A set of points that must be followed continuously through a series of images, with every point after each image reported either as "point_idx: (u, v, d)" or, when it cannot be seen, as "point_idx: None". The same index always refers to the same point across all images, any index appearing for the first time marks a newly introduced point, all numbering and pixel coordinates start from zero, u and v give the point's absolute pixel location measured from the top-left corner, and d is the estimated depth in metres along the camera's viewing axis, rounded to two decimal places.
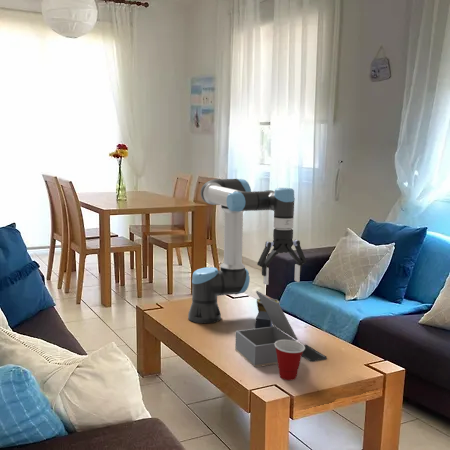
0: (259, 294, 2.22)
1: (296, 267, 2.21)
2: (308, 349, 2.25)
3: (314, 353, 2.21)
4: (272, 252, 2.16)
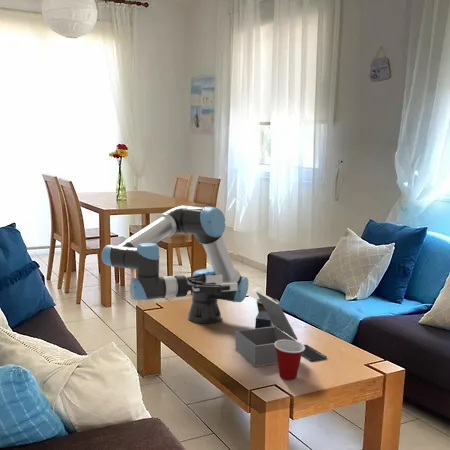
0: (259, 294, 2.22)
1: None
2: (308, 349, 2.25)
3: (314, 353, 2.21)
4: None
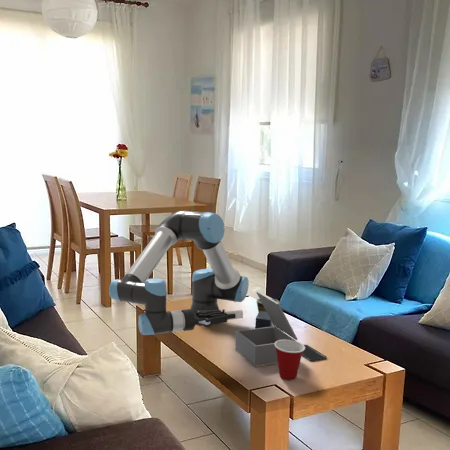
0: (259, 294, 2.22)
1: None
2: (308, 349, 2.25)
3: (314, 353, 2.21)
4: None
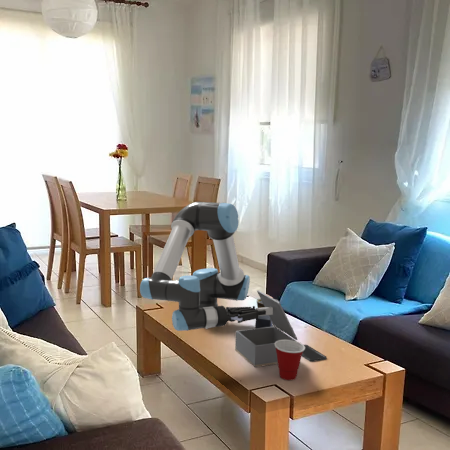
0: (260, 293, 2.22)
1: None
2: (308, 349, 2.25)
3: (314, 353, 2.21)
4: None
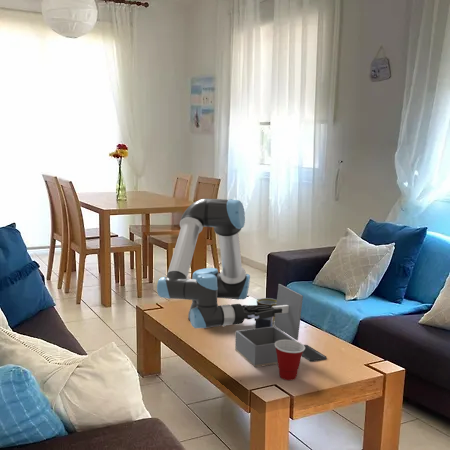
0: (281, 287, 2.25)
1: None
2: (308, 349, 2.25)
3: (314, 353, 2.21)
4: None
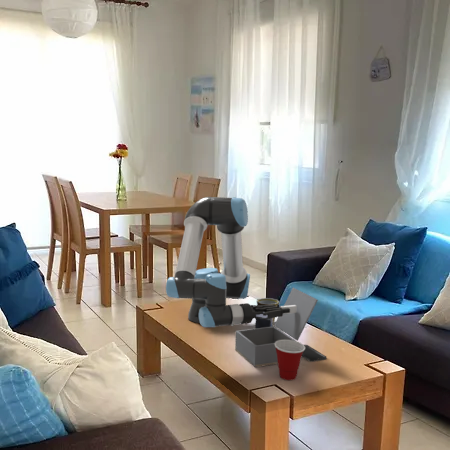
0: (295, 290, 2.28)
1: None
2: (308, 349, 2.25)
3: (314, 353, 2.21)
4: None
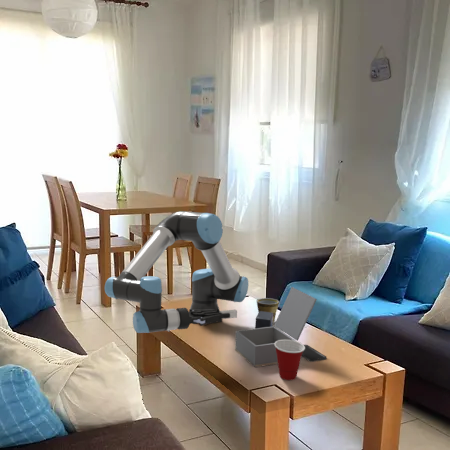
0: (294, 289, 2.28)
1: None
2: (308, 349, 2.25)
3: (314, 353, 2.21)
4: None
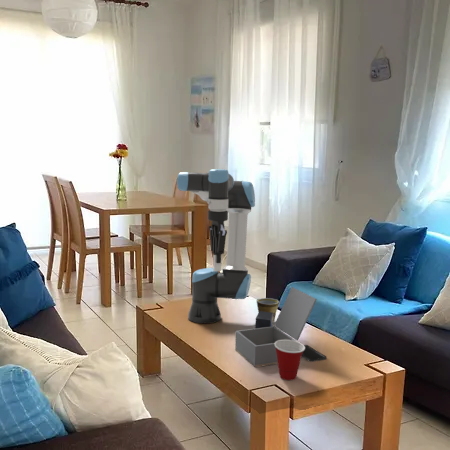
0: (294, 289, 2.28)
1: None
2: (308, 349, 2.25)
3: (314, 353, 2.21)
4: None
